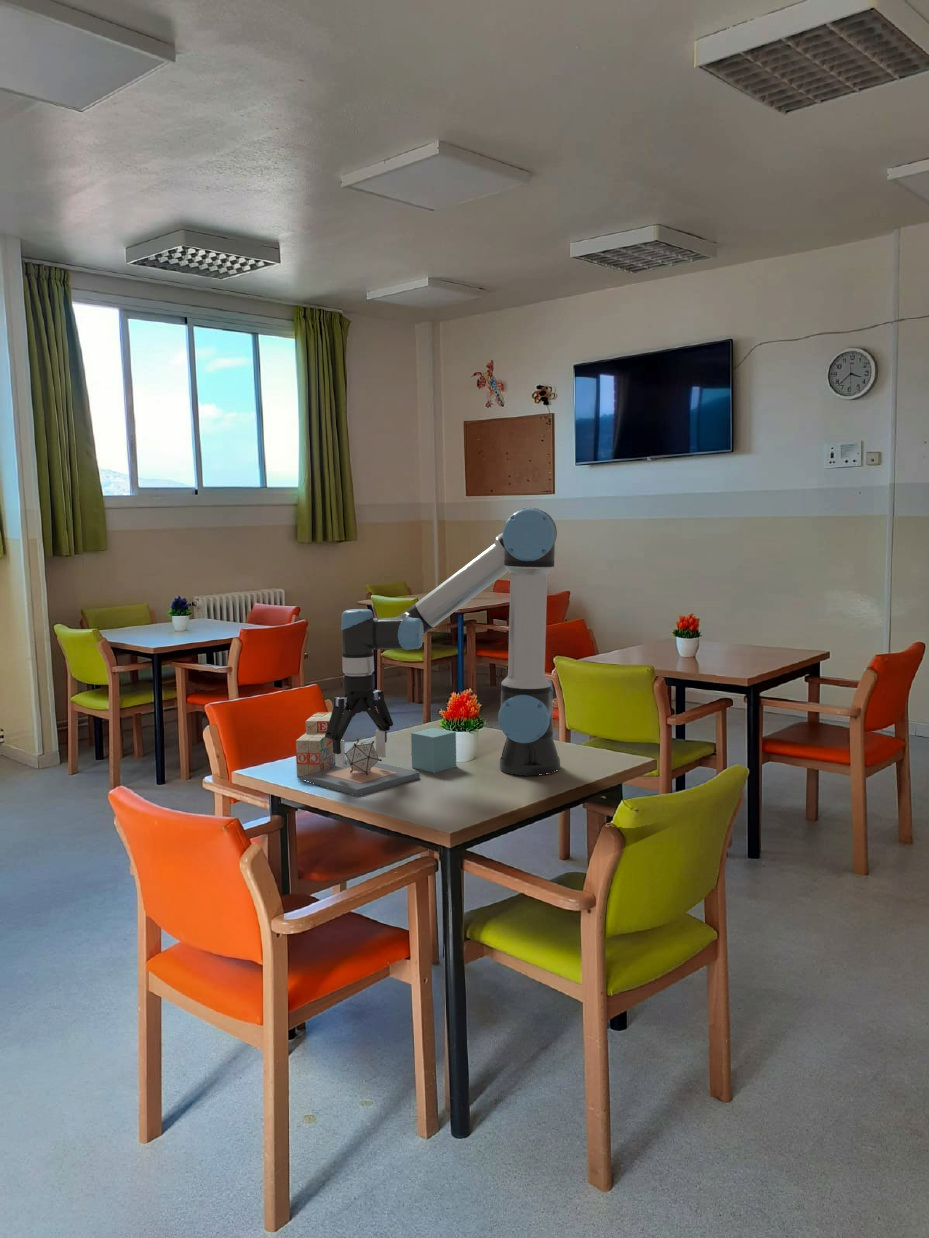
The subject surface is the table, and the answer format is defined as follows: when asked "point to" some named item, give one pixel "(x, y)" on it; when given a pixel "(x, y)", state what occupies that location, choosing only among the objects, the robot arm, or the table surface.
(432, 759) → the teal block
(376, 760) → the grey icosahedron
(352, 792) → the baseplate
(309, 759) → the stack of blocks
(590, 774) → the table surface
